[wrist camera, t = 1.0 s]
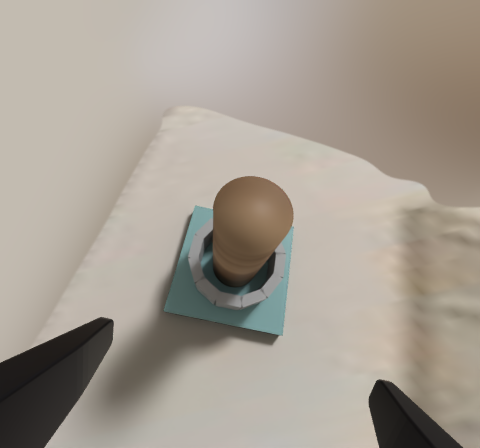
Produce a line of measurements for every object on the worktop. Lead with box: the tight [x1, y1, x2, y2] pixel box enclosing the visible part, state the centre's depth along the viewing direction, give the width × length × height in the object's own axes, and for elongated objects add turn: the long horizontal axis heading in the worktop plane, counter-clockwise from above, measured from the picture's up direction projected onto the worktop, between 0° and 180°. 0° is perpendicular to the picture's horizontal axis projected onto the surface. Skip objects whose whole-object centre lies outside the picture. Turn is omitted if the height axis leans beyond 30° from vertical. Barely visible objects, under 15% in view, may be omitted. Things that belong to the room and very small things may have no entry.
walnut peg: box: [213, 176, 293, 287], centre depth 17 cm, size 4×4×11 cm
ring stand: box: [164, 206, 294, 336], centre depth 21 cm, size 10×10×4 cm
